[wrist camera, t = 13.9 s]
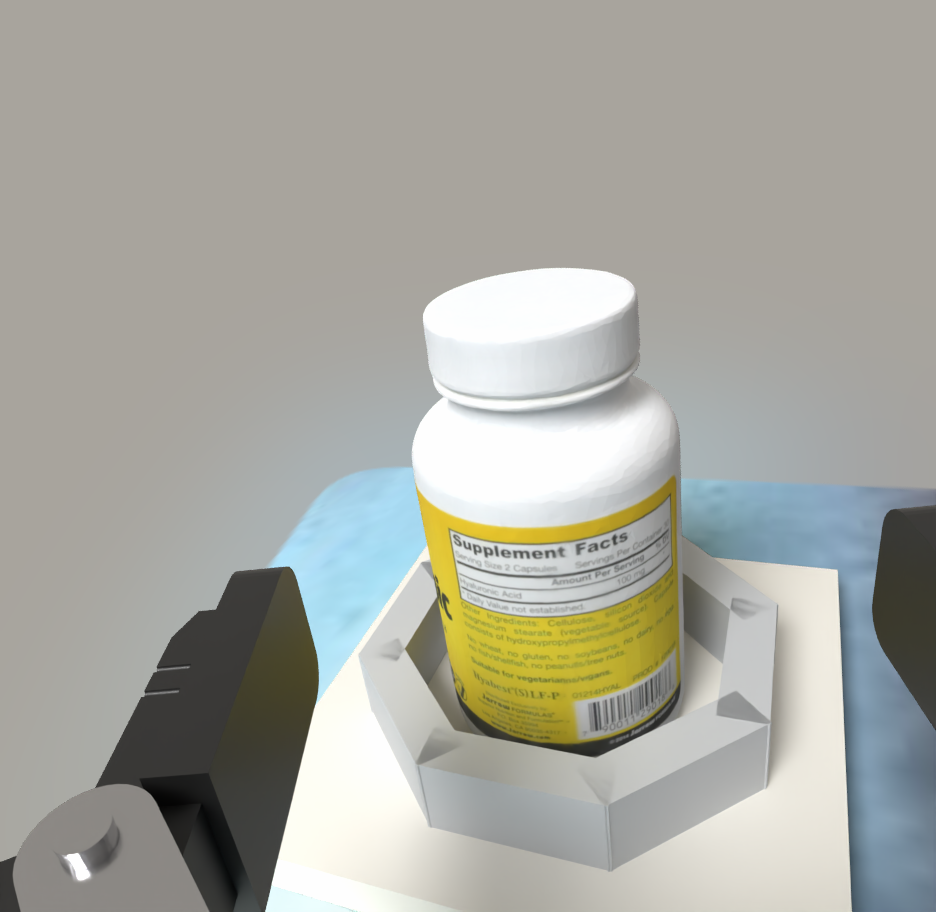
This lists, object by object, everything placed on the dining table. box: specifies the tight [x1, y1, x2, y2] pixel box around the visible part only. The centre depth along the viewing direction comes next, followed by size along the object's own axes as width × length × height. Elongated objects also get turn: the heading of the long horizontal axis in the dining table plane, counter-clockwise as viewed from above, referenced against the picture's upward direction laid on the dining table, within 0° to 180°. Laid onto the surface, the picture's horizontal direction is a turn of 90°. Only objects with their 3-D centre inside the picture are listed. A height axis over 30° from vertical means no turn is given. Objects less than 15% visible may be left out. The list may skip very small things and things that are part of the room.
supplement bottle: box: [412, 268, 685, 758], centre depth 17 cm, size 5×5×10 cm
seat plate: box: [272, 536, 852, 912], centre depth 19 cm, size 12×12×3 cm
